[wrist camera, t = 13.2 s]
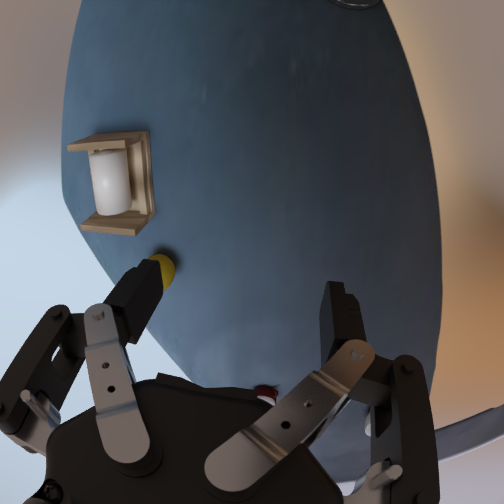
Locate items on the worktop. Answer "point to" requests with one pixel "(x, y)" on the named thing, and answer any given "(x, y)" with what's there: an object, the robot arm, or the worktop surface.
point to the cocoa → (267, 394)
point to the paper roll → (111, 181)
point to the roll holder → (138, 177)
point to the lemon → (165, 269)
